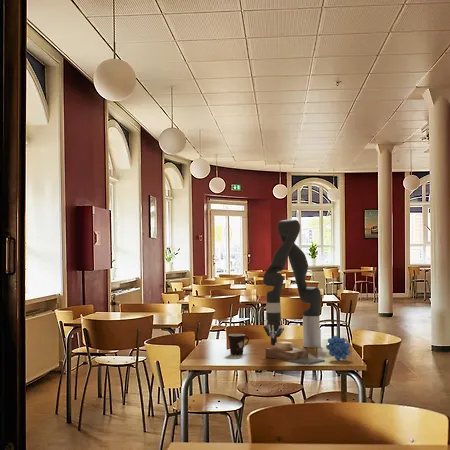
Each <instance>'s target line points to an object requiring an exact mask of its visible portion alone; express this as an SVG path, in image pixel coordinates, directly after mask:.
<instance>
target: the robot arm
mask: <svg viewBox="0 0 450 450" xmlns="http://www.w3.org/2000/svg"><path fill="white" fill-rule="evenodd" d="M277 232H278V235H279V238H280V239H281V242H282V244H281V245H280V246H279V247H278V248H277V249H276V251H275V252H274V255H273V257H272V261H271V263H270V265H269V266H268V267H267V269H266V271H265V272H264V274H263V277H262V280H263V284H264V285H265V286H267V287H273V289H272V290H269V291H267V292H266V307H265V308H266V309H265V311H266V315H265V317H266V318H265V319H266V325H264V326H263V329H264V332H265V334H266V336H267V337H269V338H270V344H271V346H275V342H278V340H277V339H278V338H279V337H281V335H282V334H283V332H284V330H285V328H284V327H282V326H281V325H282V324H281V320H282V306H281V293H282V289H283V286H284V285H283V284H284V275H283V274H282V273H281V272H282V271H283V270H284V269H285V267H286V263H287V260H288V261H289V265H290V268H291V270H292V272H293V276H294V279H295V283H296V287H297V291H298V296H299V298H300V301H301V302H302V303H304V304H309V307H308V308H305V309H304V310H302V342H303V343H302V344H303V345H302V347H303V348H304V347H305V348H310V349H314V348H315V349H316V348H320V347H322V338H321V337H322V331H321V328H320V325H321V324H320V322H321V321H320V312H321V306H322V305H321V303H322V295H321V294H322V293H321V290H320V288H319V287H316V286H308V284H307V281H306V276H307V273H308V270H309V262H308V260H307V257H306V256H307V255H306V254H305V253H304V252H303V251H304V250H303V251H302V249H301V248H300V247H299V246H298V245H297V244H296V241H297V239H298V237H299V234H300V232H301V224H300V222H299V221H298V220H297V219H283V220H279V222H278V223H277ZM287 258H288V259H287Z"/></svg>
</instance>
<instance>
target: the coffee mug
mask: <svg viewBox="0 0 450 450" xmlns="http://www.w3.org/2000/svg"><path fill="white" fill-rule="evenodd" d="M245 339H247V341H246V343H245ZM249 341H250V338H249V336H246V334H243V333H230V334H228V344H229V352H230V355H231V356H243V355H244V348H245V347H246V346H247V345H248V344H249Z"/></svg>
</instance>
